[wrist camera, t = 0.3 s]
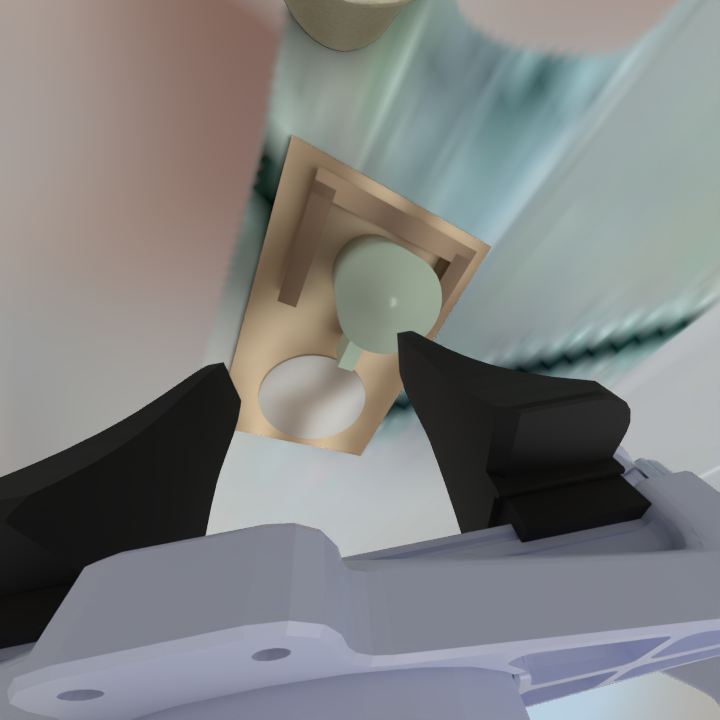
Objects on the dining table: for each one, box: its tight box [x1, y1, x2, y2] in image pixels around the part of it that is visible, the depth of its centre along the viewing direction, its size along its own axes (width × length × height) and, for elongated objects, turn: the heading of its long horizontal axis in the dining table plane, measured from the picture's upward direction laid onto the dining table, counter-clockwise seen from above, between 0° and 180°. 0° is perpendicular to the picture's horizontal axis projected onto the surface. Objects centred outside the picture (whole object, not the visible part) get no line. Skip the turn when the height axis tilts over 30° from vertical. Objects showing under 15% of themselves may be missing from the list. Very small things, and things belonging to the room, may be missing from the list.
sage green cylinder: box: [332, 234, 442, 371], centre depth 17 cm, size 5×8×6 cm, turn 156°
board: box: [229, 135, 491, 456], centre depth 21 cm, size 14×22×3 cm, turn 156°
